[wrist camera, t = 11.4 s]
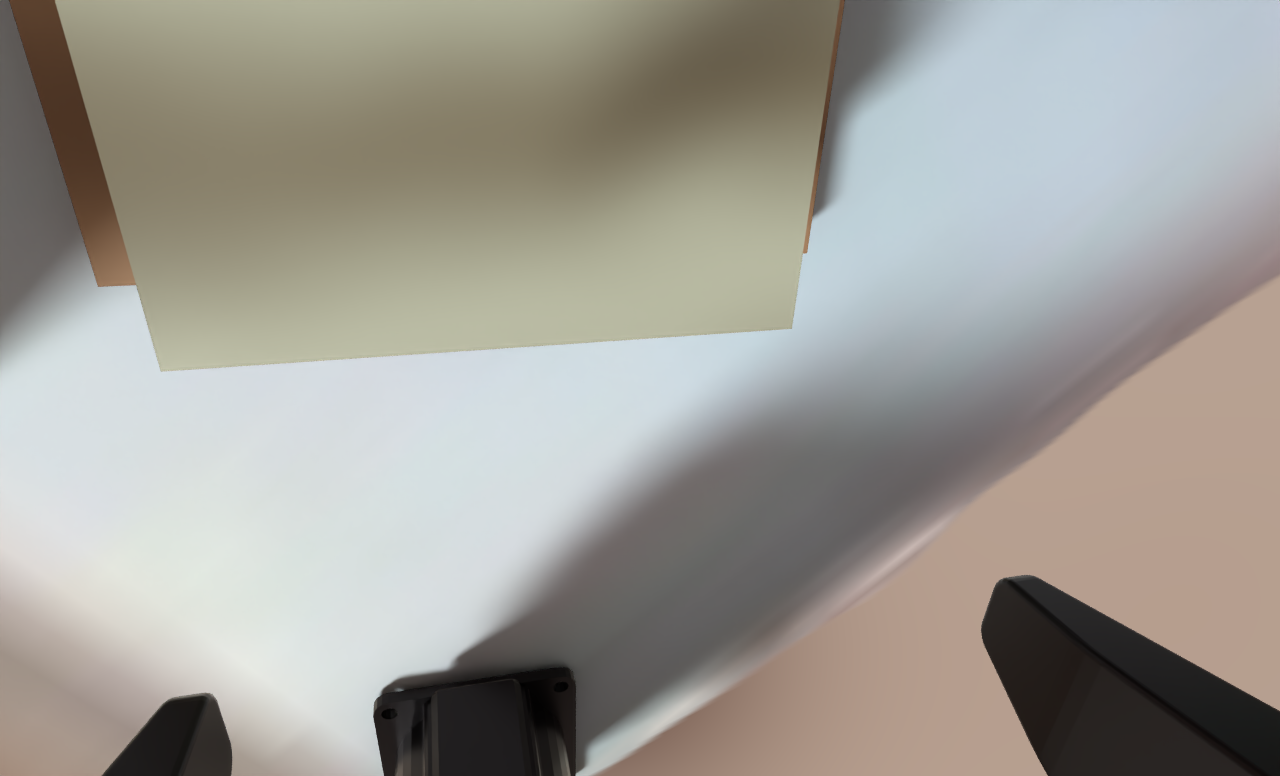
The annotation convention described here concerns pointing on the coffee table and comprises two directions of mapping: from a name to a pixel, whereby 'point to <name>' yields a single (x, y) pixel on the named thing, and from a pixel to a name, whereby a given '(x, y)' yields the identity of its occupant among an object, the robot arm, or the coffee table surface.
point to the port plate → (437, 167)
